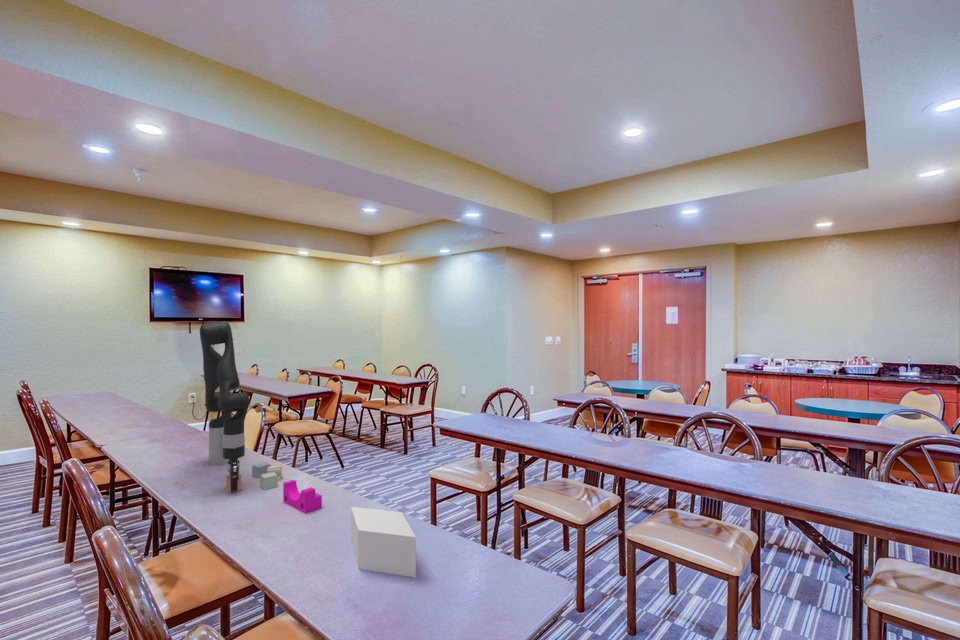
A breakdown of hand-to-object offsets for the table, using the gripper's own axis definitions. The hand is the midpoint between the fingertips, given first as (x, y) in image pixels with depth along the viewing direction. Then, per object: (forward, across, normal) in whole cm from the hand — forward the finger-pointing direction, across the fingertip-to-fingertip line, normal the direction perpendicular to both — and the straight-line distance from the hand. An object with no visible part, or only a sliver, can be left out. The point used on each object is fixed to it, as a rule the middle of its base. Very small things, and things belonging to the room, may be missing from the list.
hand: (233, 488), depth 170 cm
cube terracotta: (0, 0, 0) cm, 0 cm away
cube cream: (+1, -4, +15) cm, 16 cm away
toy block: (+1, +30, +20) cm, 36 cm away
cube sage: (+1, +4, +12) cm, 13 cm away
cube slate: (+1, -12, +11) cm, 16 cm away
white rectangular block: (+1, +79, +31) cm, 85 cm away
